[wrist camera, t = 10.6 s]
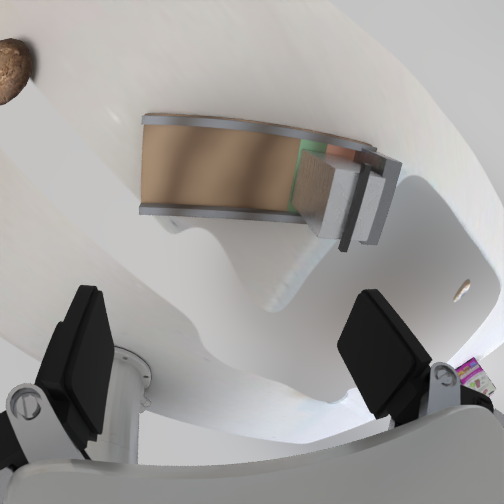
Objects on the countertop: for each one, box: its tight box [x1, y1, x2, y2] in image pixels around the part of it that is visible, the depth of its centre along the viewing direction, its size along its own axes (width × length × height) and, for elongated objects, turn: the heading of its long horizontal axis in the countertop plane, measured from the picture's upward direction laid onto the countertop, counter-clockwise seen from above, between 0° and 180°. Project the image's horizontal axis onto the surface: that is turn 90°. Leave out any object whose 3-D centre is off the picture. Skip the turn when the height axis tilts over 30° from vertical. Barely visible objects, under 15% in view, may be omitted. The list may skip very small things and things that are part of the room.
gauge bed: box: [139, 114, 377, 224], centre depth 28 cm, size 24×10×2 cm, turn 81°
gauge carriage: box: [291, 149, 386, 252], centre depth 26 cm, size 5×8×9 cm, turn 172°
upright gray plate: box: [353, 148, 402, 245], centre depth 28 cm, size 2×9×6 cm, turn 172°
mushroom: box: [0, 38, 32, 105], centre depth 16 cm, size 8×8×6 cm
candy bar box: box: [455, 358, 496, 397], centre depth 65 cm, size 11×5×16 cm, turn 102°
